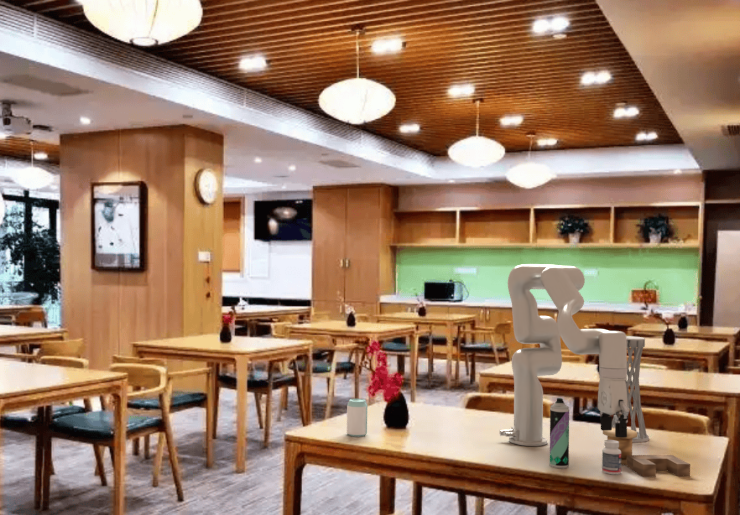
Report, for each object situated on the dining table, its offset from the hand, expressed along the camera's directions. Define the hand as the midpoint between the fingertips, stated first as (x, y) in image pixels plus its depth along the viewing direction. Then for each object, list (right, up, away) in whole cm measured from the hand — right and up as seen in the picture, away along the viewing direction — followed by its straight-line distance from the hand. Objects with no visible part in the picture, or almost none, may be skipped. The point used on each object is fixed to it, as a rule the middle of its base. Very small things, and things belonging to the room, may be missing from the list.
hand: (613, 433), depth 204 cm
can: (-75, -11, +41) cm, 86 cm away
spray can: (-14, -11, +6) cm, 19 cm away
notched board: (+13, -12, +2) cm, 18 cm away
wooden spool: (+6, -12, +13) cm, 19 cm away
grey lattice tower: (+20, -13, +45) cm, 51 cm away
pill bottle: (0, -11, 0) cm, 11 cm away
